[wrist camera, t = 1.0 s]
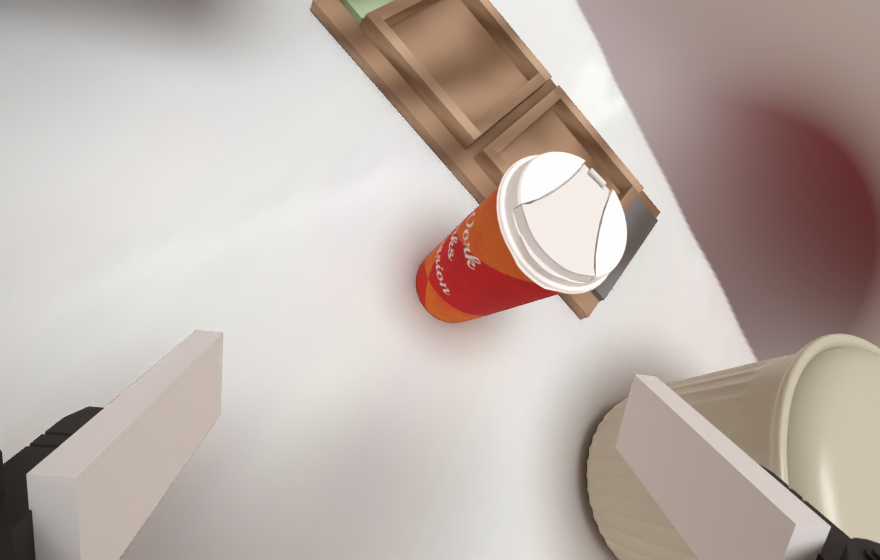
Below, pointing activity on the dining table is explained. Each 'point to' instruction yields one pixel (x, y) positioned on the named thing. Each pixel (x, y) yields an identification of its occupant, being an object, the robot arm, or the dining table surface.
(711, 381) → the canister
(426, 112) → the wooden compartment tray
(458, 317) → the paper cup
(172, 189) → the dining table surface
